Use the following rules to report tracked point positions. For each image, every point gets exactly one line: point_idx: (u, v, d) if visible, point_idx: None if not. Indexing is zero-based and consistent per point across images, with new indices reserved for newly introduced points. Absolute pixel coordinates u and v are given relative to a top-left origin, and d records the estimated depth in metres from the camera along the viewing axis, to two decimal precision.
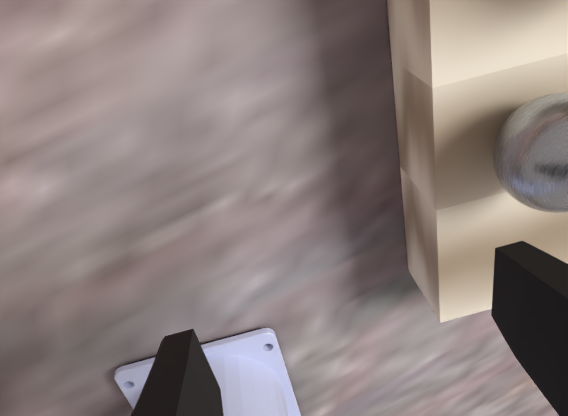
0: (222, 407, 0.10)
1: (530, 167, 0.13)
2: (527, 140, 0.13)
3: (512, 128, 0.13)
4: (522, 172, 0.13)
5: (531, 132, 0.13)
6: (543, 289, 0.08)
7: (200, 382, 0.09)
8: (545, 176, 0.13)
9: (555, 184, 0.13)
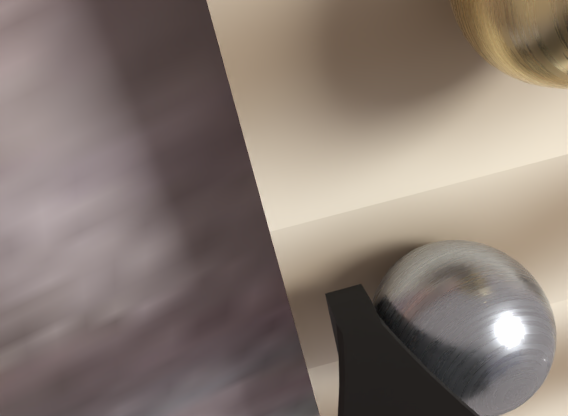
0: None
1: None
2: (407, 330, 0.08)
3: (388, 302, 0.09)
4: None
5: (412, 318, 0.08)
6: (345, 342, 0.08)
7: None
8: None
9: None
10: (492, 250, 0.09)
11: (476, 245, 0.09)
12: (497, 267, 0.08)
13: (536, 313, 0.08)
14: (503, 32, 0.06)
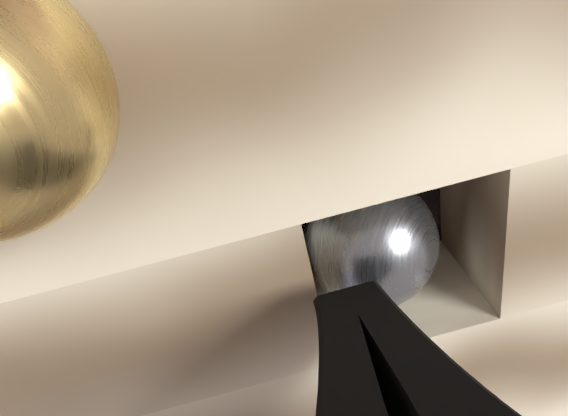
0: None
1: None
2: None
3: None
4: None
5: None
6: (369, 337, 0.08)
7: None
8: None
9: None
10: (343, 219, 0.11)
11: (354, 213, 0.11)
12: None
13: (308, 224, 0.12)
14: None
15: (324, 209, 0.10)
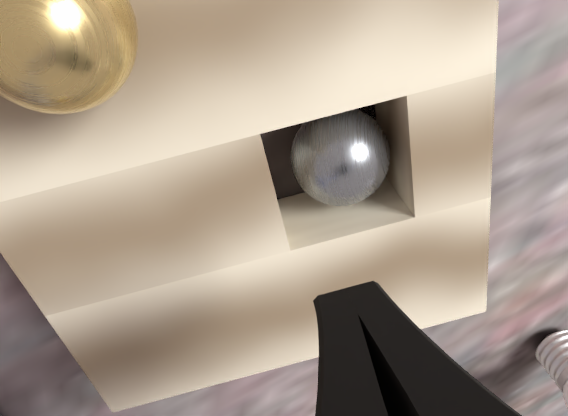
0: None
1: None
2: None
3: None
4: None
5: None
6: (369, 337, 0.08)
7: None
8: None
9: None
10: (330, 133, 0.15)
11: (336, 126, 0.15)
12: (315, 129, 0.15)
13: (296, 150, 0.16)
14: None
15: (276, 123, 0.14)
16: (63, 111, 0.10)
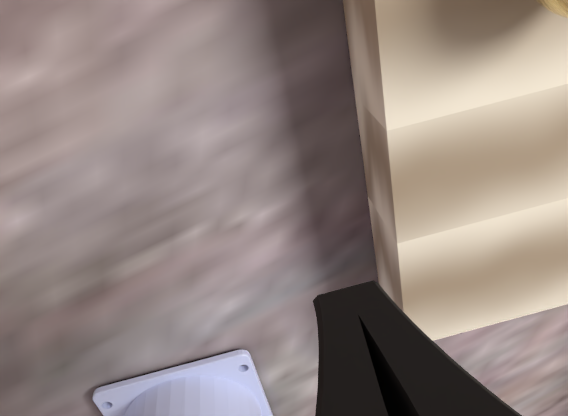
0: None
1: None
2: None
3: None
4: None
5: None
6: (369, 336, 0.08)
7: None
8: None
9: None
10: None
11: None
12: None
13: None
14: None
15: None
16: None
